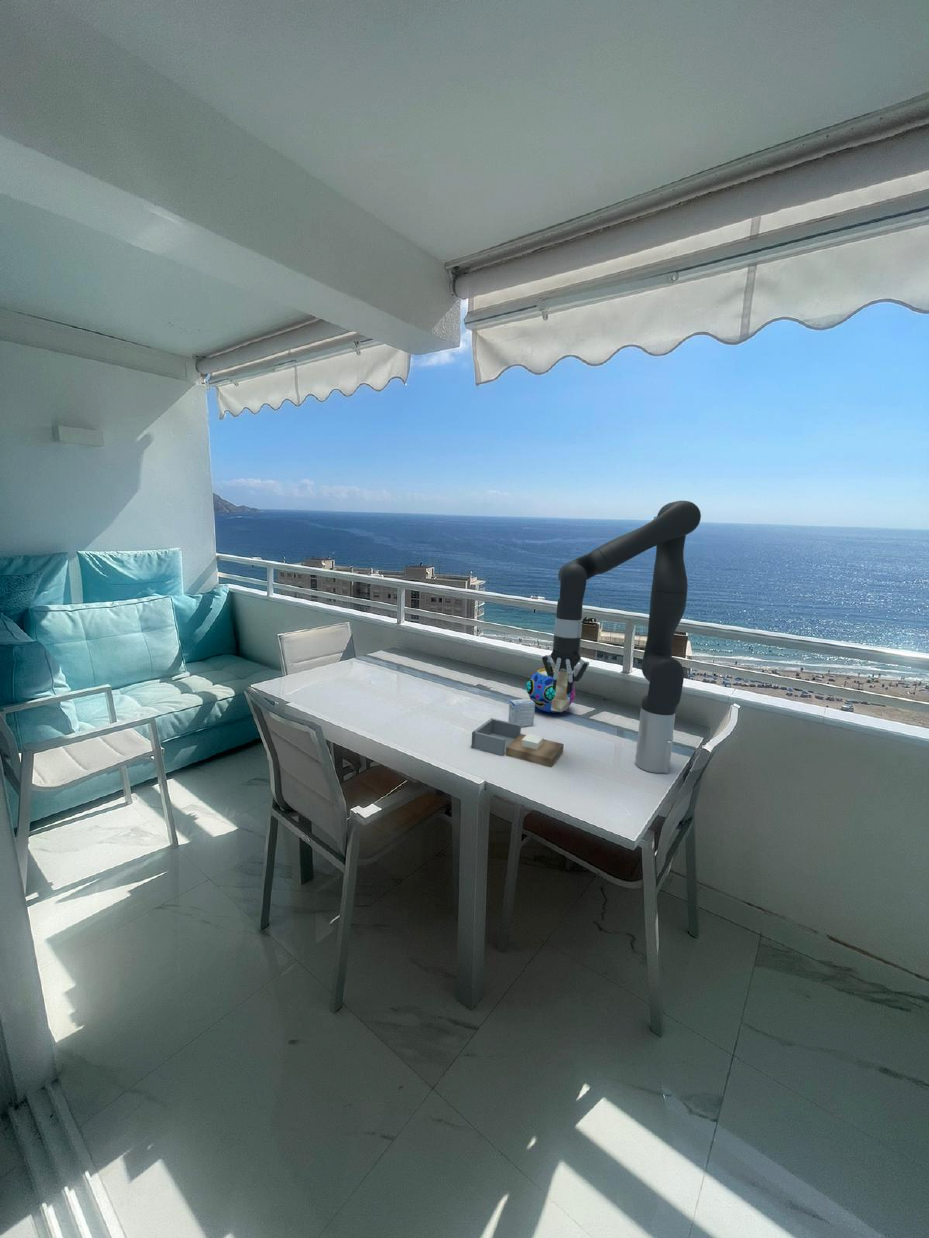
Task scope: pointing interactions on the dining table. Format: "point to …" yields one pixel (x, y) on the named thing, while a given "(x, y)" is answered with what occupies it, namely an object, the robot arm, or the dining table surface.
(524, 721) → the medicine box
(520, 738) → the walnut plate
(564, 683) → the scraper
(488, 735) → the box
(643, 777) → the dining table surface
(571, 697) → the ceramic pot
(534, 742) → the cream tile
